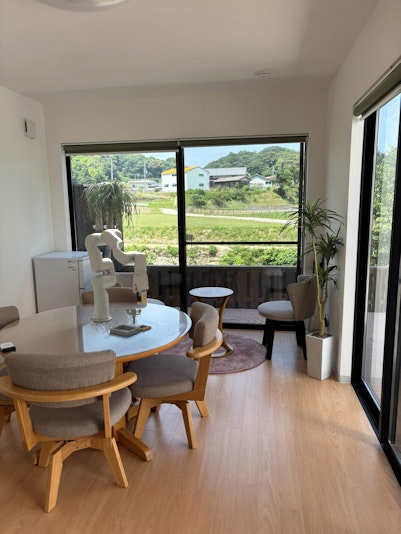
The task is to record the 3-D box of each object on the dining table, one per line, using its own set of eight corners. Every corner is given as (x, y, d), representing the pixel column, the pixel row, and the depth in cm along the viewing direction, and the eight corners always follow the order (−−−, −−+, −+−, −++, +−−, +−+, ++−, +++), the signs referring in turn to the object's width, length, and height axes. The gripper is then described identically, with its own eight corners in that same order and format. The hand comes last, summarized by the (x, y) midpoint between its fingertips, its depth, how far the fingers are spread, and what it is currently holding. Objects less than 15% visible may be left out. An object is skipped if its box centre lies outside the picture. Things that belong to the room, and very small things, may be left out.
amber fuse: (137, 304, 254) (136, 292, 253) (141, 303, 257) (140, 290, 256) (142, 305, 252) (141, 292, 251) (146, 303, 255) (145, 291, 254)
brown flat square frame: (134, 329, 256) (134, 327, 256) (142, 326, 262) (142, 324, 262) (143, 331, 252) (143, 329, 252) (151, 328, 258) (151, 326, 258)
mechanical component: (140, 324, 268) (140, 309, 266) (126, 323, 270) (125, 309, 268) (142, 323, 271) (141, 308, 269) (127, 322, 273) (127, 308, 271)
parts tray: (110, 333, 250) (109, 328, 250) (122, 328, 259) (122, 324, 259) (127, 337, 242) (127, 332, 242) (140, 332, 251) (139, 327, 251)
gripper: (144, 270, 260) (145, 297, 263) (126, 273, 247) (127, 303, 250) (153, 271, 256) (154, 299, 259) (135, 275, 243) (137, 304, 245)
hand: (141, 300), depth 254 cm, fingers closed on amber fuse, 4 cm apart
